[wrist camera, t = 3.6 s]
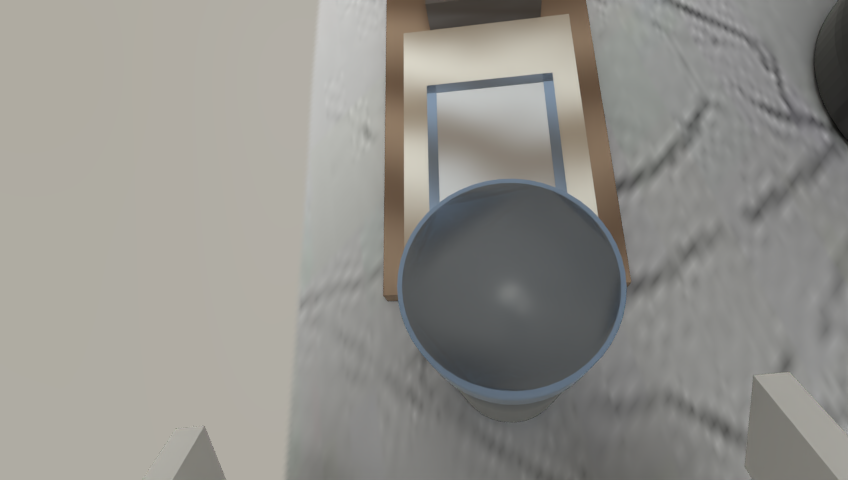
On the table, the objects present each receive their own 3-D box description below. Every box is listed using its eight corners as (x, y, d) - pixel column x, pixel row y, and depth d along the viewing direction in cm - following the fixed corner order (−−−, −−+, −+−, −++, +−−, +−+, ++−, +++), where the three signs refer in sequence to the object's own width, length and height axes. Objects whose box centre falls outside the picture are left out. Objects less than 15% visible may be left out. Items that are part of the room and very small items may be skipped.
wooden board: (390, -42, 34) (380, -85, 31) (570, -66, 32) (576, -114, 30) (387, 300, 26) (373, 283, 23) (626, 288, 24) (641, 267, 22)
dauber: (493, 301, 25) (477, 144, 12) (582, 358, 24) (669, 248, 11) (436, 384, 24) (353, 309, 11) (525, 449, 23) (546, 448, 10)
